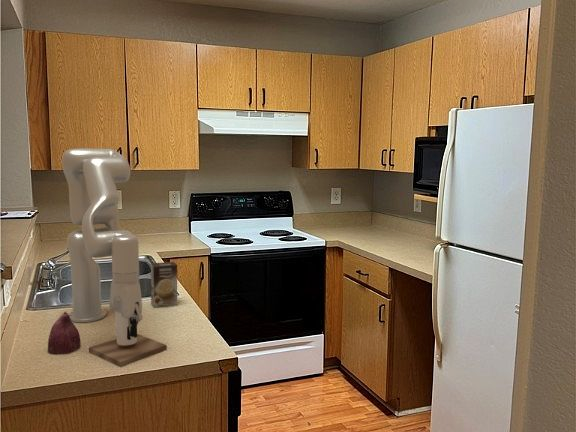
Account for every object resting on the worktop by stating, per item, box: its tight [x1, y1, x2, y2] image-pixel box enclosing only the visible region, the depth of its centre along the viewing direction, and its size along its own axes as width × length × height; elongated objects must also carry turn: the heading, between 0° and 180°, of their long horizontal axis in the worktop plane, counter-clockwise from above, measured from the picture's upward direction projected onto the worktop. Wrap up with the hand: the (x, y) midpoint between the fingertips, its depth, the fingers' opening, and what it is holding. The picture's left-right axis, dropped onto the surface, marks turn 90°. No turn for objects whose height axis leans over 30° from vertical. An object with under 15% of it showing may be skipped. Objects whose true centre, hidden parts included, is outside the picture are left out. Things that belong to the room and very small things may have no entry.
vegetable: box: [47, 311, 81, 355], centre depth 154 cm, size 10×9×14 cm
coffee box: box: [150, 261, 178, 308], centre depth 199 cm, size 9×6×16 cm
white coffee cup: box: [114, 311, 137, 345], centre depth 154 cm, size 7×7×10 cm
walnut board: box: [88, 333, 168, 368], centre depth 154 cm, size 16×16×2 cm
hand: (127, 335), depth 154 cm, fingers closed on white coffee cup, 3 cm apart
